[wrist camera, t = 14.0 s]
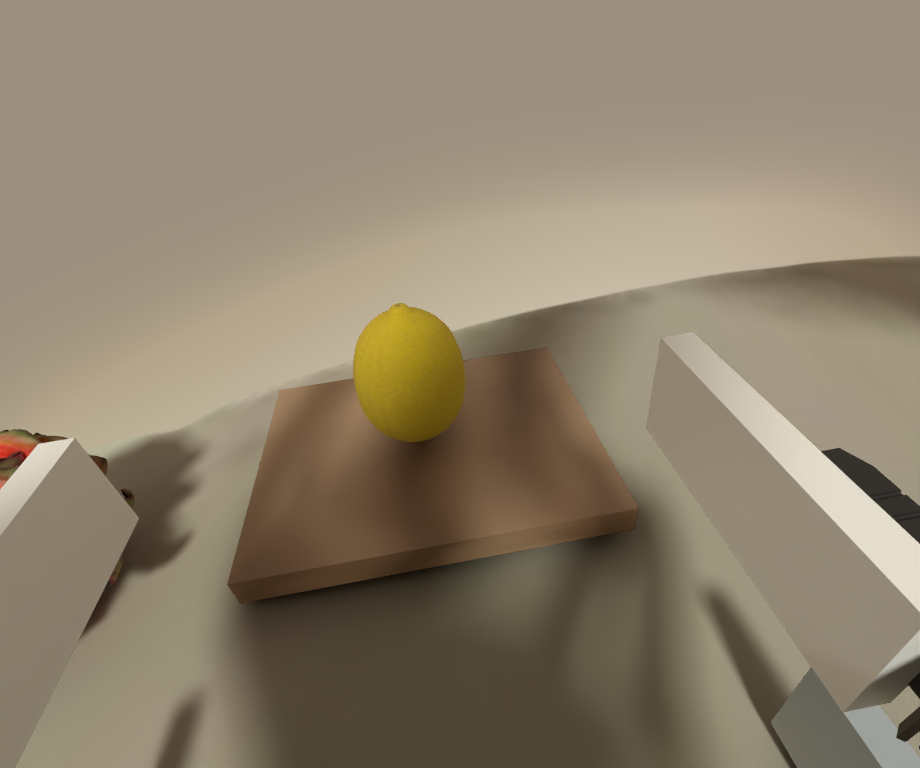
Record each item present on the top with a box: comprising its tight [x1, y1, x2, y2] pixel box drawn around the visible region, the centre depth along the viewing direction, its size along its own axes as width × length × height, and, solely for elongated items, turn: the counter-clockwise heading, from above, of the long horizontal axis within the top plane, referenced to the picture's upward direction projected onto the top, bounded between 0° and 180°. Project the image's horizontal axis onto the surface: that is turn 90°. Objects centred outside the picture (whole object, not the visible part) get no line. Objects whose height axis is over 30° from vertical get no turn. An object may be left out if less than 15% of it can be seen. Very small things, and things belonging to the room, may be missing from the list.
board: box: [227, 347, 639, 603], centre depth 27 cm, size 18×14×2 cm
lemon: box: [353, 303, 465, 442], centre depth 24 cm, size 6×6×8 cm
